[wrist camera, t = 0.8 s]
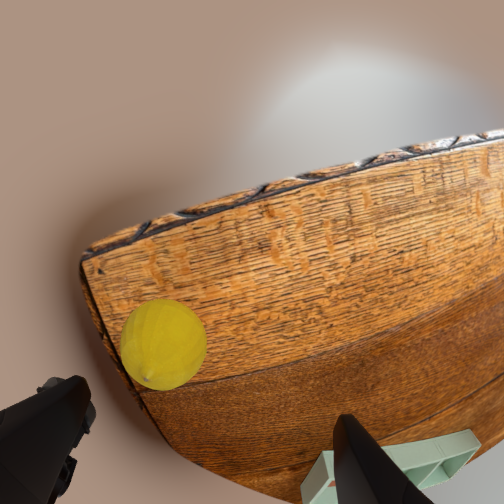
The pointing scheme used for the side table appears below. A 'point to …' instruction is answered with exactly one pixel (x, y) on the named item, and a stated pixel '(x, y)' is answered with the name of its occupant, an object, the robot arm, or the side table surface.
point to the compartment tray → (400, 464)
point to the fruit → (163, 344)
